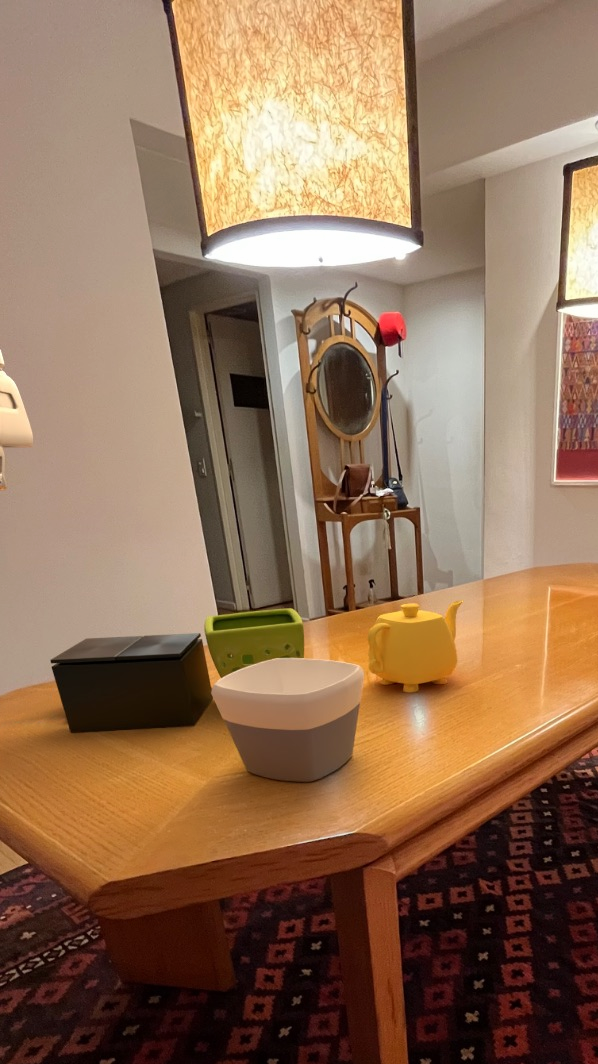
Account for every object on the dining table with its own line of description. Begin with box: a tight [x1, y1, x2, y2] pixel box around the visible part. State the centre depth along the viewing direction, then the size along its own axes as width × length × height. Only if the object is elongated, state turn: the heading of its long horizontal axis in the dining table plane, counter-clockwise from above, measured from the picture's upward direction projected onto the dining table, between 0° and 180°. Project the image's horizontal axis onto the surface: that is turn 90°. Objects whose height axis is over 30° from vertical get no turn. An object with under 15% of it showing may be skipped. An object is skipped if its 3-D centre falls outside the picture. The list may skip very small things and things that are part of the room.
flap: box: [49, 635, 144, 664], centre depth 96 cm, size 8×13×1 cm, turn 6°
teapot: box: [367, 599, 464, 693], centre depth 111 cm, size 14×20×13 cm
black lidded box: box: [51, 632, 214, 734], centre depth 99 cm, size 17×13×10 cm
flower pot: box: [203, 607, 305, 679], centre depth 103 cm, size 14×14×13 cm
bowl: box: [211, 657, 365, 783], centre depth 80 cm, size 15×15×11 cm
